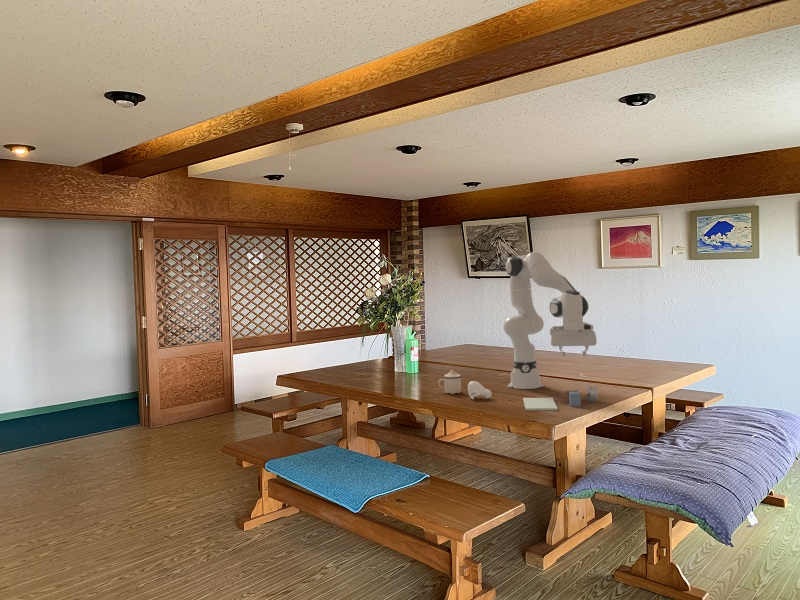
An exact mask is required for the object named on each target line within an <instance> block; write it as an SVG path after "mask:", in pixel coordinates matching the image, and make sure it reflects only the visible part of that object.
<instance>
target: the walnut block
mask: <svg viewBox="0 0 800 600" xmlns="http://www.w3.org/2000/svg"><path fill="white" fill-rule="evenodd" d="M569 392H579V391H578V390H566V401H568V402H567V403H568V404H569Z"/></svg>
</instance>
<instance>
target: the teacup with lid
mask: <svg viewBox="0 0 800 600" xmlns="http://www.w3.org/2000/svg"><path fill="white" fill-rule="evenodd" d="M461 377H462V376H461V374H460V373H459V374H458V373H457V372H455V371H454V370H450V372H448V373H447V374H446V373H445V374H444V375H443V378H441V379H439V380H438V381H437V383H438V385H439V387H440V388H441V389H444V393H445V394H447V393H450V394H449V395H456V394H455V393H458V394H460V393H461V392H462V384H461V382H462V381H461V380H462V378H461ZM441 381H444V383H443V384H444V385H443V386H442V385H441Z"/></svg>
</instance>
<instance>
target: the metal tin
mask: <svg viewBox="0 0 800 600" xmlns="http://www.w3.org/2000/svg"><path fill="white" fill-rule="evenodd" d="M598 390H599V389H598V386H596V385H587V386H586V402H587V401H588V402H587V403H591V402H595V403H598V402H599V399H598V398H599V392H598ZM597 401H598V402H597Z"/></svg>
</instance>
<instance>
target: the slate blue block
mask: <svg viewBox="0 0 800 600" xmlns="http://www.w3.org/2000/svg"><path fill="white" fill-rule="evenodd" d="M568 404H569V406H570V407H582V398H581V392H580V391H578V392H569V403H568Z"/></svg>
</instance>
